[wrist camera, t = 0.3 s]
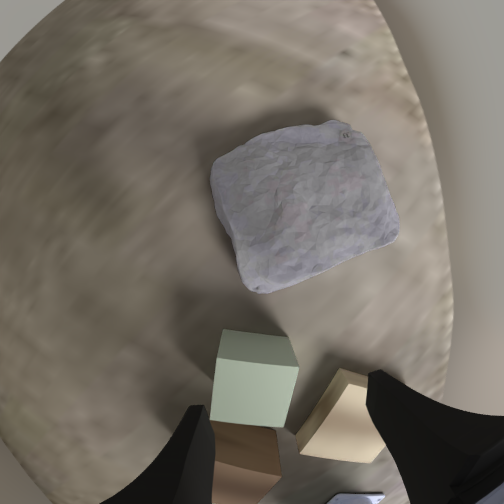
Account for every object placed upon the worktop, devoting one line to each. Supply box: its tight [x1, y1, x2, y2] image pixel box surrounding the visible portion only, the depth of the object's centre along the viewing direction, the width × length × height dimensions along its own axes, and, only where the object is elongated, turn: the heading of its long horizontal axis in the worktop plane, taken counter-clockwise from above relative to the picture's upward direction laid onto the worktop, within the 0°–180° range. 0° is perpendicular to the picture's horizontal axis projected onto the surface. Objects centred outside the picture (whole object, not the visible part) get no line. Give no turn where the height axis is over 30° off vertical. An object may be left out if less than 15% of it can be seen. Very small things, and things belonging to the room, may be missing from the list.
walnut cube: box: [209, 417, 282, 504], centre depth 20 cm, size 6×6×6 cm
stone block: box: [210, 120, 399, 294], centre depth 19 cm, size 12×5×10 cm
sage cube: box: [210, 329, 299, 427], centre depth 19 cm, size 5×5×5 cm
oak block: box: [295, 368, 386, 463], centre depth 21 cm, size 8×8×3 cm
